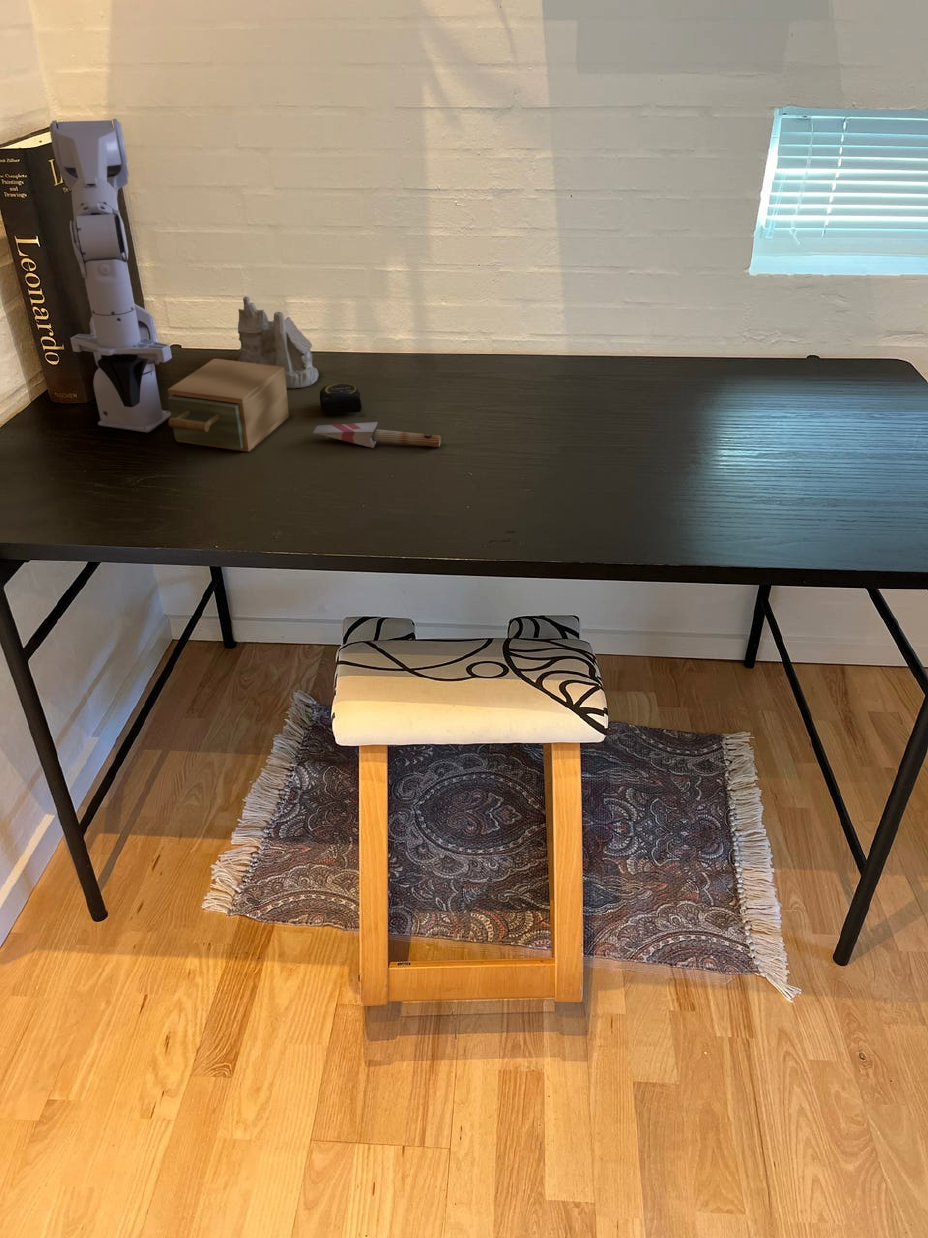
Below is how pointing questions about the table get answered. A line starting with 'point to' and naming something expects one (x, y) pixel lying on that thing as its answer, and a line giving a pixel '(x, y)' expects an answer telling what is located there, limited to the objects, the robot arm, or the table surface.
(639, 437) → the table surface
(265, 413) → the cabinet
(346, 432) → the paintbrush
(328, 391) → the tape measure
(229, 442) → the drawer
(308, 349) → the ceramic cottage
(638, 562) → the table surface
